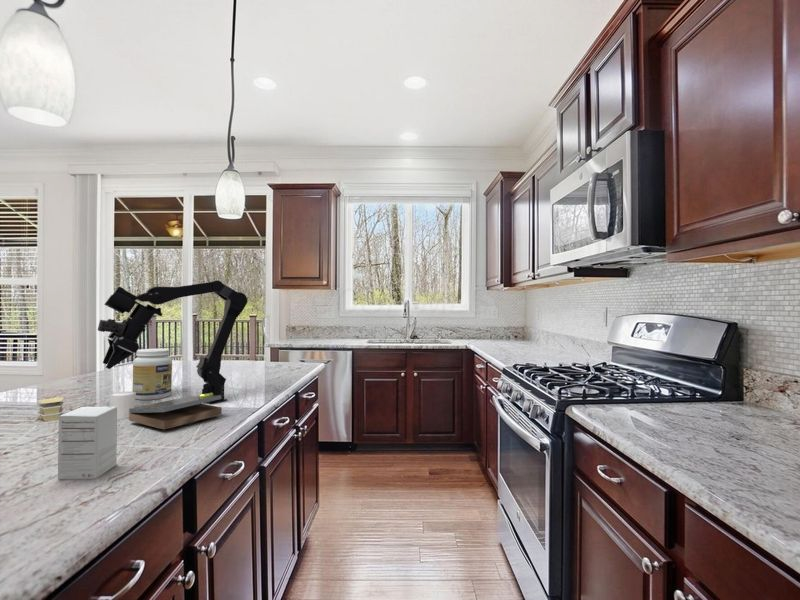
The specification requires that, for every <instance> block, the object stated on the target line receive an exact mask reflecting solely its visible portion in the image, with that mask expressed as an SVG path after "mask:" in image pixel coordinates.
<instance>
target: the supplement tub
mask: <svg viewBox="0 0 800 600" xmlns="http://www.w3.org/2000/svg"><path fill="white" fill-rule="evenodd" d="M169 355H170V348H159V347H158V348H141V349H138V350H137V352H136V353H135V356H136V358H134V359H133V361H132V392H136V397H135V400H139V401H141V400H142V401H143V400H144V401H151V400H152V401H153V400H160V399H163V398H168V397H169V396H170V395H171V394H172V386H173V385H172V381H173V380H172V376H173V359H172V357H171V356H169Z"/></svg>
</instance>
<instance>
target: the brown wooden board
mask: <svg viewBox="0 0 800 600" xmlns="http://www.w3.org/2000/svg"><path fill="white" fill-rule="evenodd" d="M222 409H223V408H222V407H220V406H215V405H212V404H211V405H210V404H207V403H206V404H205V403H201V404H197V405H193V406H188V407H184V408H179V409H175V410H171V411H166V412H148V413H129V418H128V421H130V422H134V423H137V424H138V425H139V426H149V427H153V428H156V429H161V430H168V429H170V428H171V429H172V428H175V427H179V426H189V425H194V424H195V423H196V422H197V421H201V420H206V419H209V418H213V417H216V416H220V415H222V412H223V410H222Z"/></svg>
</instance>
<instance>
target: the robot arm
mask: <svg viewBox="0 0 800 600" xmlns="http://www.w3.org/2000/svg"><path fill="white" fill-rule="evenodd" d="M209 293H214V294H216V295H217V296H218V297H219V298H220V299H222V300H224V301H225V303H224V306H223V307H224V308H223V309H224V310H223V316H222V319H221V321H220V324H219V326H218V329H217V331H216V334H215V336H214V339H213V340H212V344H211V346H210V349H209V351H208V353H207V354H206V355H205V356H203V355H201V356H200V357H199V362H198V363H197V365H196V368H197V369H196V372H197V375H198V376H199V377H200V378H201V379H202V380H203V385H202V389H201V395H202V394H207V393H213V395H221V399H219V400H214V401H210V402H206V404H208V405H210V404H211V405H214V404H218V403H222V402H226V401H228V399H227V398H225V383H226V381H227V379H226V377H224V376H223V375H222V374H221V373H220V370H221V367H222V366H221V364H222V356H223V353H224V350H225V347H226V345H227V343H228V341H229V338H230V335H231V332H232V330H233V328H234V325H235V322H236V320H237V318H238V317H239V316H240V315H241V314H242V312H243V310H244V309H245V308H246V306H247V304H248V302H249V301H248V296H247V295H246V294H245V293H243V292H241V291H238V292H237V291H236V290H234V289H232V288H231V287H229V286H228V285H226V284H224V283H223V282H222V281H221V280H212V281H207V282H202V283H195V284H194V283H193V284H188V285H181V286H152V287H149V288H148V289H147V290H146V291H145V292H144V293H140V294H139V293H138V294H137V295H135V294H133V293H131V292H129V291H127V290H126V289H124V288H123V287H121V286H118V287H117V288H116V289H115V291H113V293H112V294H110V296H109V297H108V298H107V300H106V301H105V302H104V306H106V307H108V308H110V309H111V310H114V311H117V312H118V313H120V314H122V315H123V314H125V313H128V314H129V313H130V312H131V311H132V312H131V313H130V314H129V316H128V317H127V318H126V319H123V320H122V321H121V322H119V321H116V320H115V319H111V318H108V319H107V320H106V319H105V320H104V319H100V320H99V322H98V327H97V332H103V333H105V332H108V333H109V335H108V336H107V341H108V344H109V346H108V347H107V348H108V349H107V350H106V351H107V352H106V354H105V356H104V359H103V361H102V364H104V365H105V369H107V370H110V369H112V368H113V367H115V366H117V365H118V364H119V363H121V362H124V360H126V359H127V358H129V357H131V356H132V355H134V354H136V353H137V350H140V346H139V343H138V339H139V338H140V336H141V335H142V333H145V331H146V328H147V326H148V325H149V323H150V322H151V320H152V319H153V318H154V316H155V315H156V316H159V317H162V316H163V314H162V307H157V308H156V307H155V306H152V305H156V306H157V305H163V304H165V303H168V302H171V301H174V300H176V299H179V298H185V297H190V296H191V297H192V296H198V295H203V294H209ZM141 302H143V303H144V302H148V303H147V304H146V305H143V304H141ZM135 305H136V306H135ZM134 306H135V308H134ZM133 308H134V309H133ZM132 309H133V310H132Z"/></svg>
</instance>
